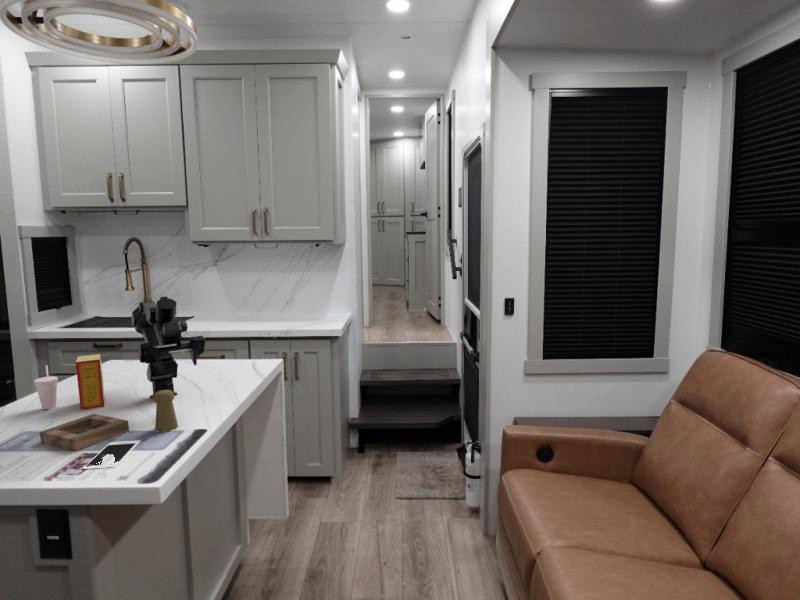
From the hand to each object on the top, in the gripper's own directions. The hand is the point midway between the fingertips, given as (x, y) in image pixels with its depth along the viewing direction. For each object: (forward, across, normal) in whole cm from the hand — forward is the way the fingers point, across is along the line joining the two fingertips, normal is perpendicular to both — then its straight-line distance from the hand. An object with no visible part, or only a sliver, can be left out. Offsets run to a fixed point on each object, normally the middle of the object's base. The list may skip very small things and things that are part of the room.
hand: (179, 366), depth 154 cm
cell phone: (+23, -22, +4) cm, 32 cm away
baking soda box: (-19, -20, +30) cm, 41 cm away
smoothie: (-23, -32, +32) cm, 51 cm away
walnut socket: (+7, -26, +13) cm, 30 cm away
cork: (+14, -7, +9) cm, 18 cm away
